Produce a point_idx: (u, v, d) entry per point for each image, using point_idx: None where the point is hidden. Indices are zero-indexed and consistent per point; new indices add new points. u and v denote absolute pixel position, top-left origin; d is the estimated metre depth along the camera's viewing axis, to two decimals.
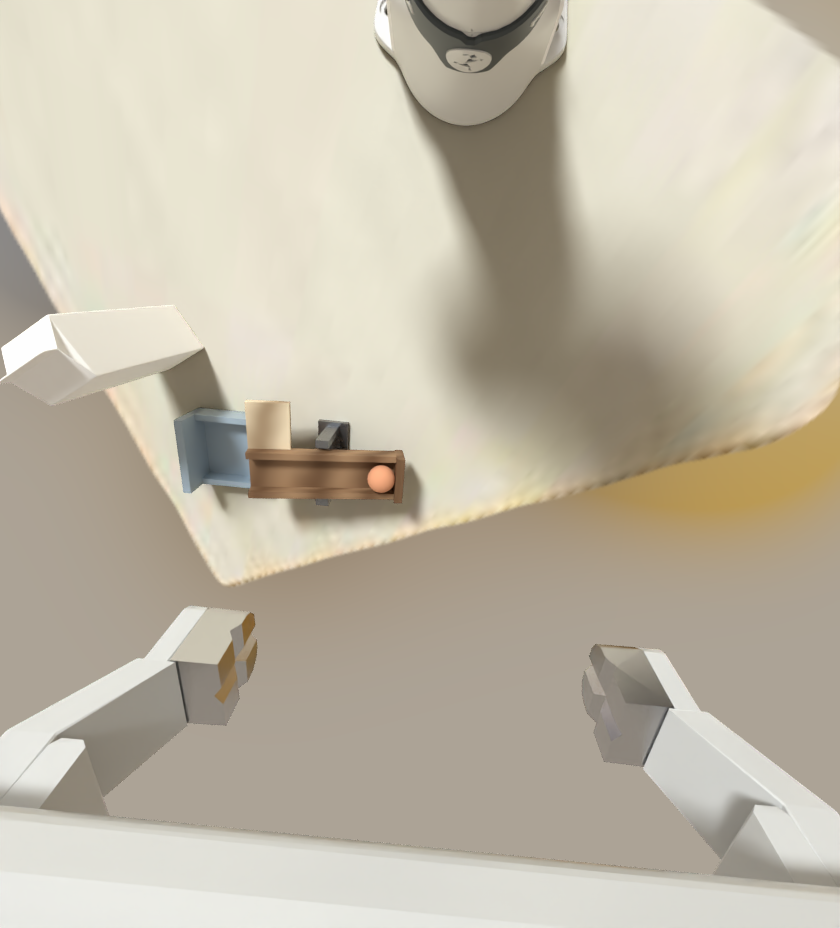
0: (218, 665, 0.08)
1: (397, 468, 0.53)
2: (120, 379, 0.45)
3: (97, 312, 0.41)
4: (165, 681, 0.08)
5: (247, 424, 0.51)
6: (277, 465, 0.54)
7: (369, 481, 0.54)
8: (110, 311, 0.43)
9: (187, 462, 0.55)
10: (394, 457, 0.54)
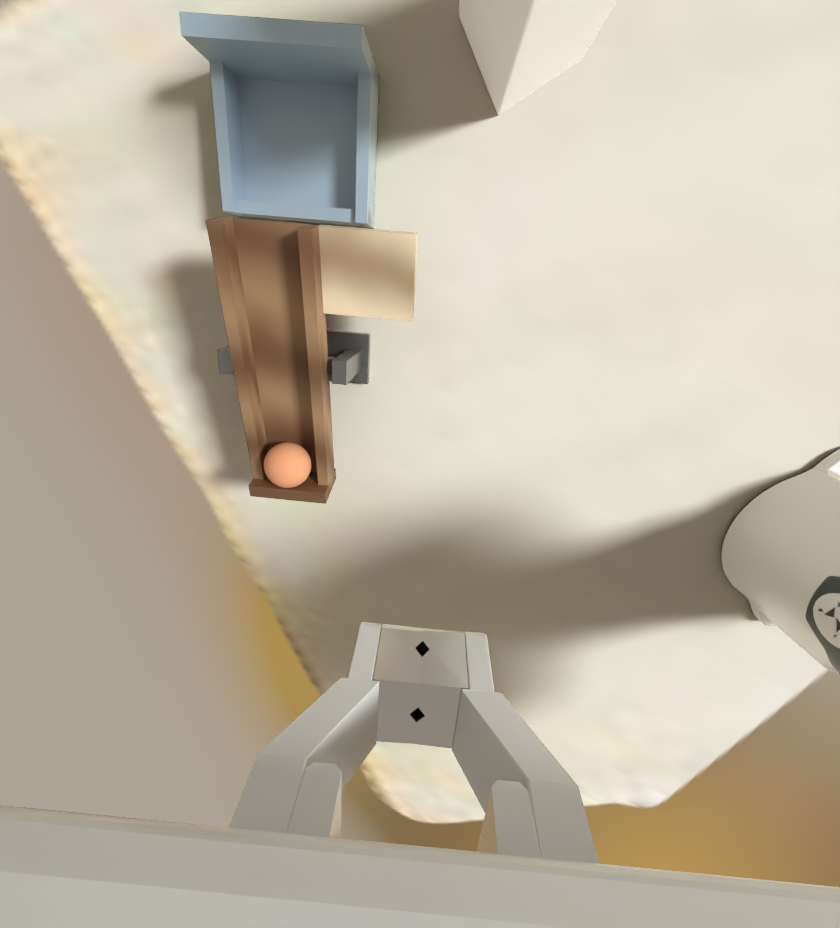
0: (420, 684, 0.08)
1: (310, 492, 0.33)
2: None
3: None
4: (371, 700, 0.08)
5: (370, 233, 0.25)
6: (287, 283, 0.27)
7: (282, 453, 0.32)
8: None
9: (261, 42, 0.24)
10: (327, 482, 0.34)
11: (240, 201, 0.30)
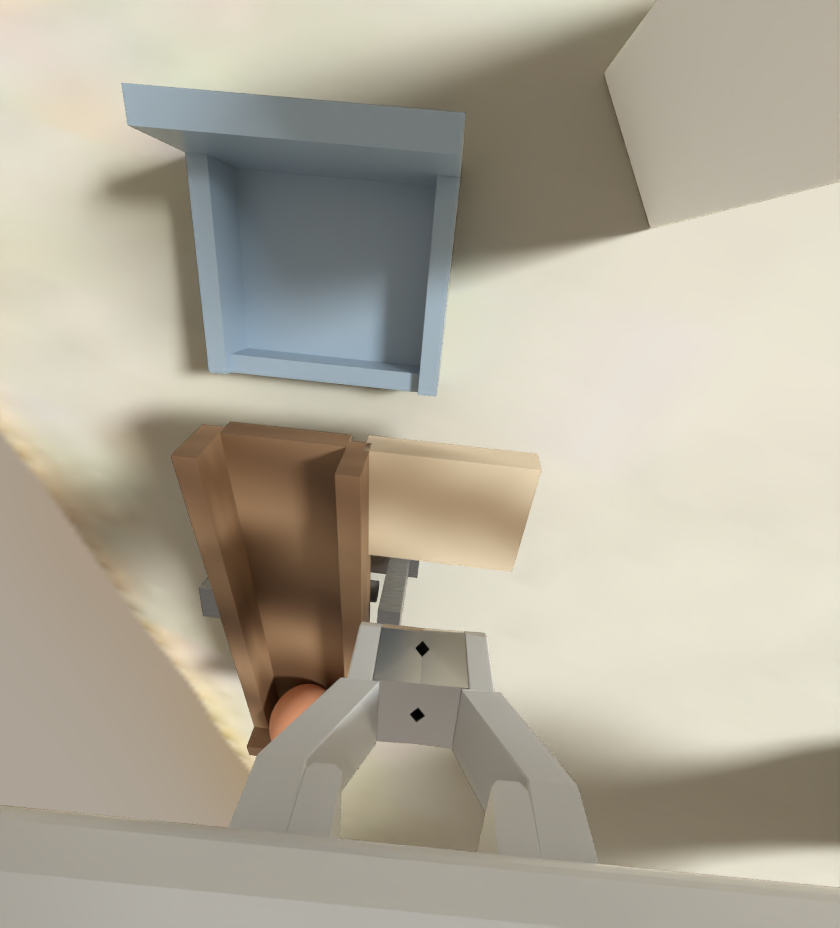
0: (420, 684, 0.08)
1: None
2: None
3: None
4: (371, 700, 0.08)
5: (459, 464, 0.14)
6: (312, 516, 0.17)
7: None
8: None
9: (273, 138, 0.13)
10: None
11: (237, 357, 0.19)
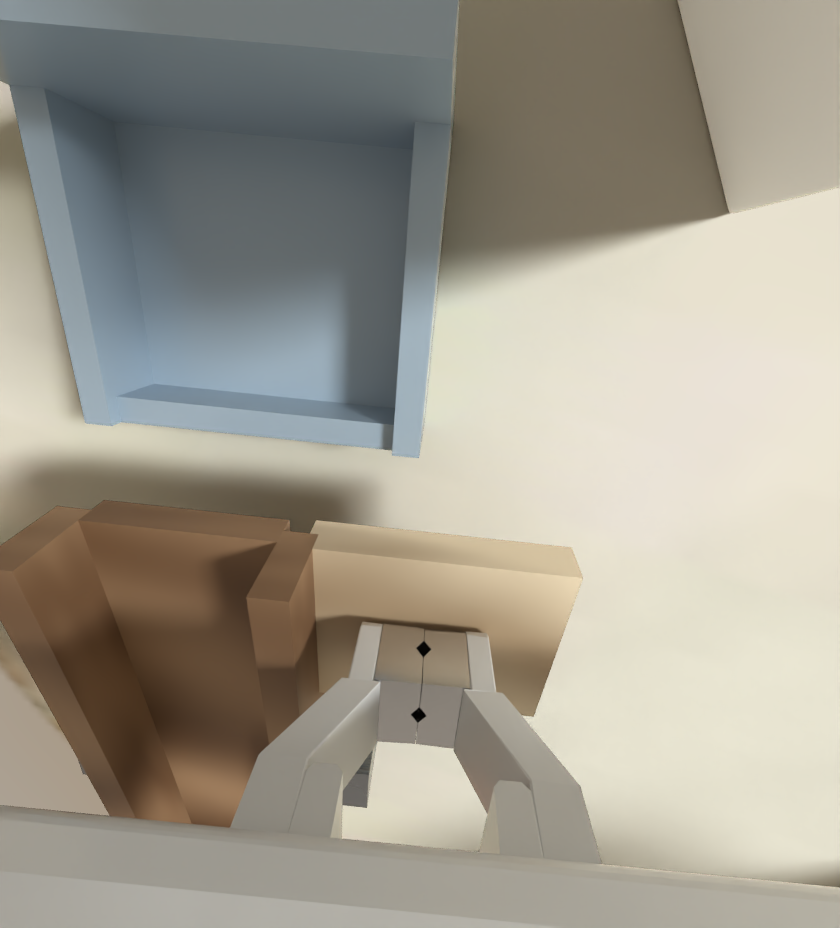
0: (421, 684, 0.08)
1: None
2: None
3: None
4: (372, 701, 0.08)
5: (453, 569, 0.09)
6: (232, 639, 0.11)
7: None
8: None
9: (107, 31, 0.07)
10: None
11: (127, 400, 0.13)
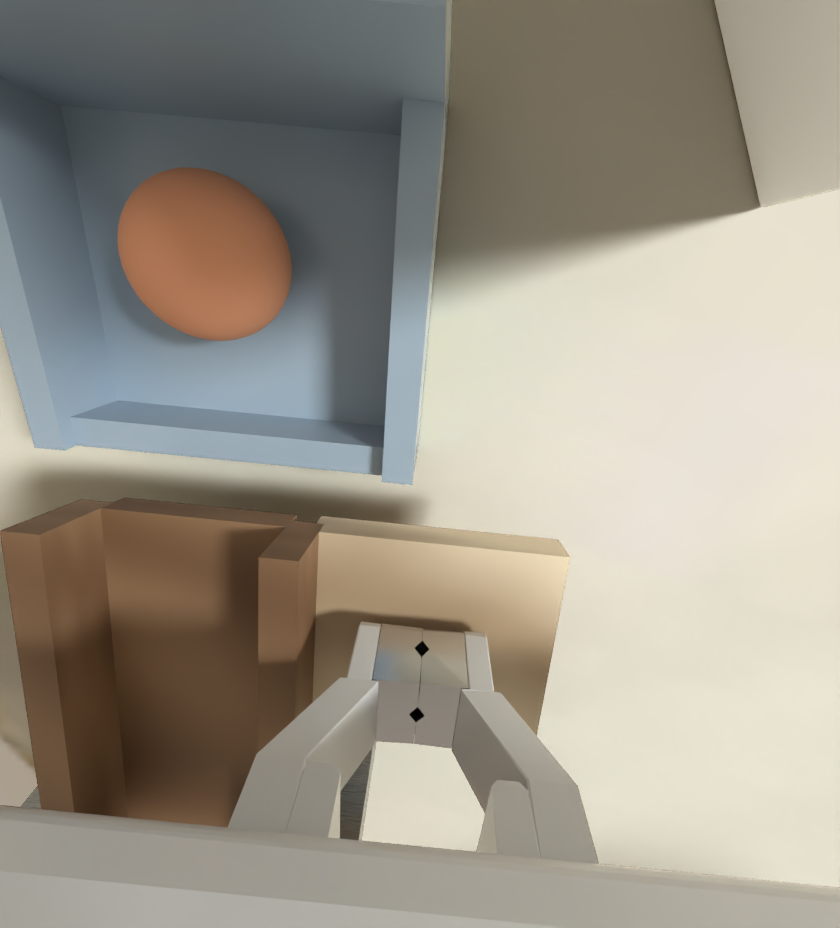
0: (419, 684, 0.08)
1: None
2: None
3: None
4: (370, 700, 0.08)
5: (450, 551, 0.10)
6: (228, 645, 0.11)
7: None
8: None
9: None
10: None
11: (83, 421, 0.11)
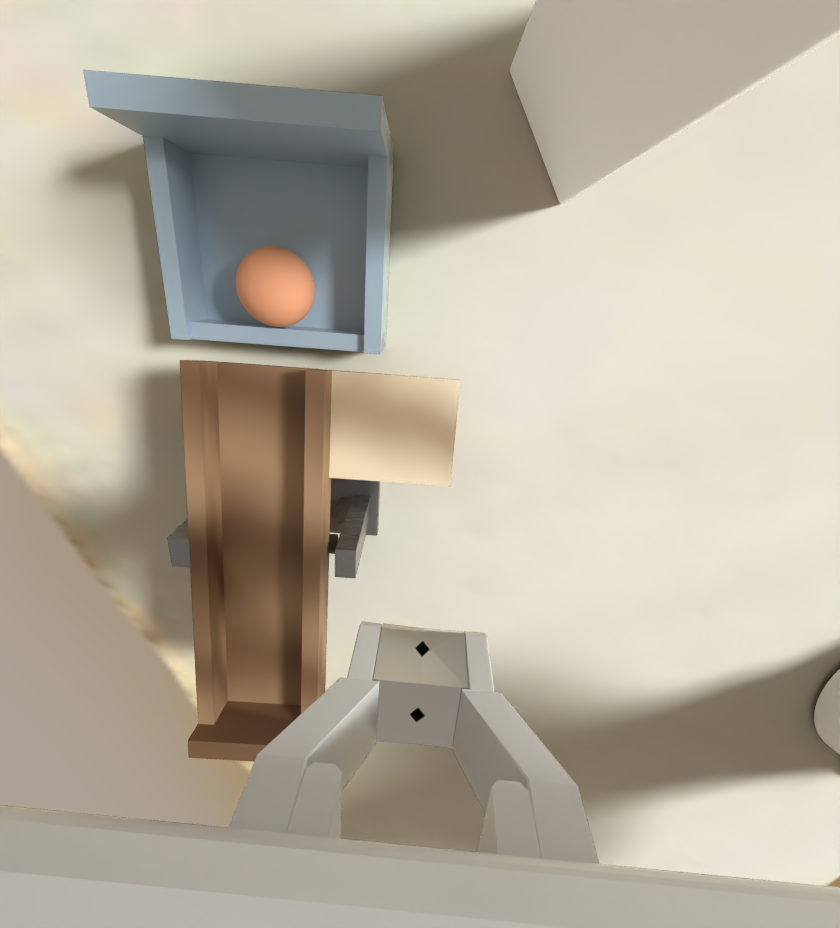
0: (420, 684, 0.08)
1: None
2: None
3: None
4: (371, 700, 0.08)
5: (399, 379, 0.19)
6: (283, 440, 0.20)
7: (265, 256, 0.18)
8: None
9: (219, 118, 0.15)
10: None
11: (197, 324, 0.21)
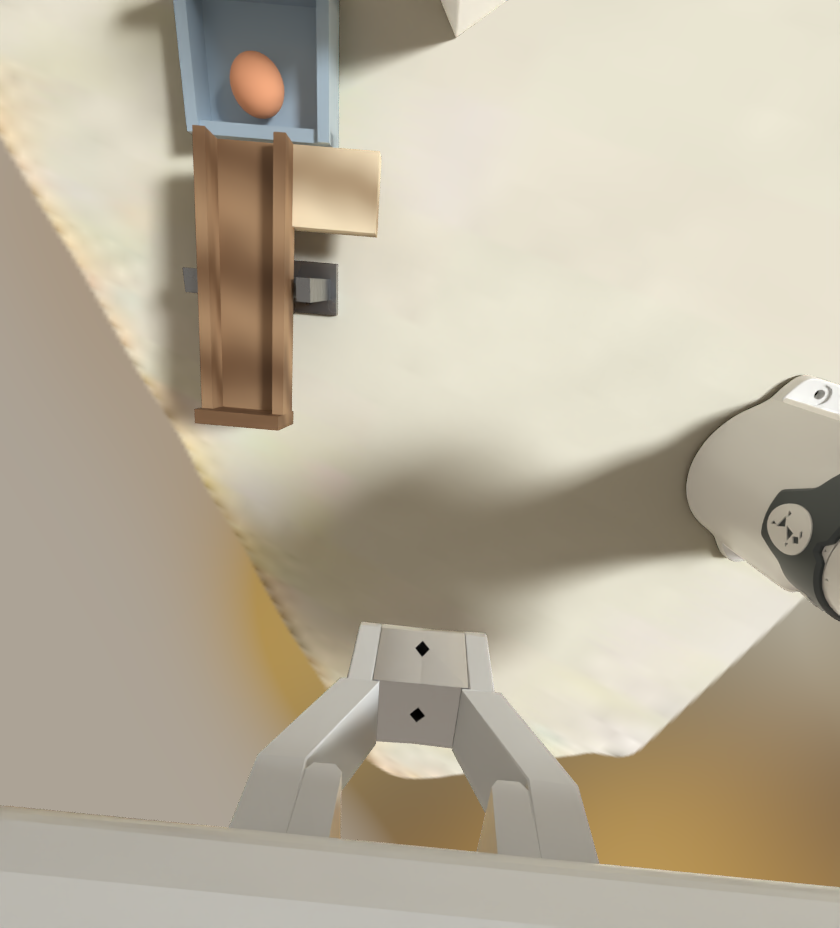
0: (420, 684, 0.08)
1: (262, 416, 0.31)
2: None
3: None
4: (371, 700, 0.08)
5: (338, 150, 0.29)
6: (261, 197, 0.30)
7: (250, 51, 0.28)
8: None
9: None
10: (282, 411, 0.31)
11: (204, 122, 0.30)
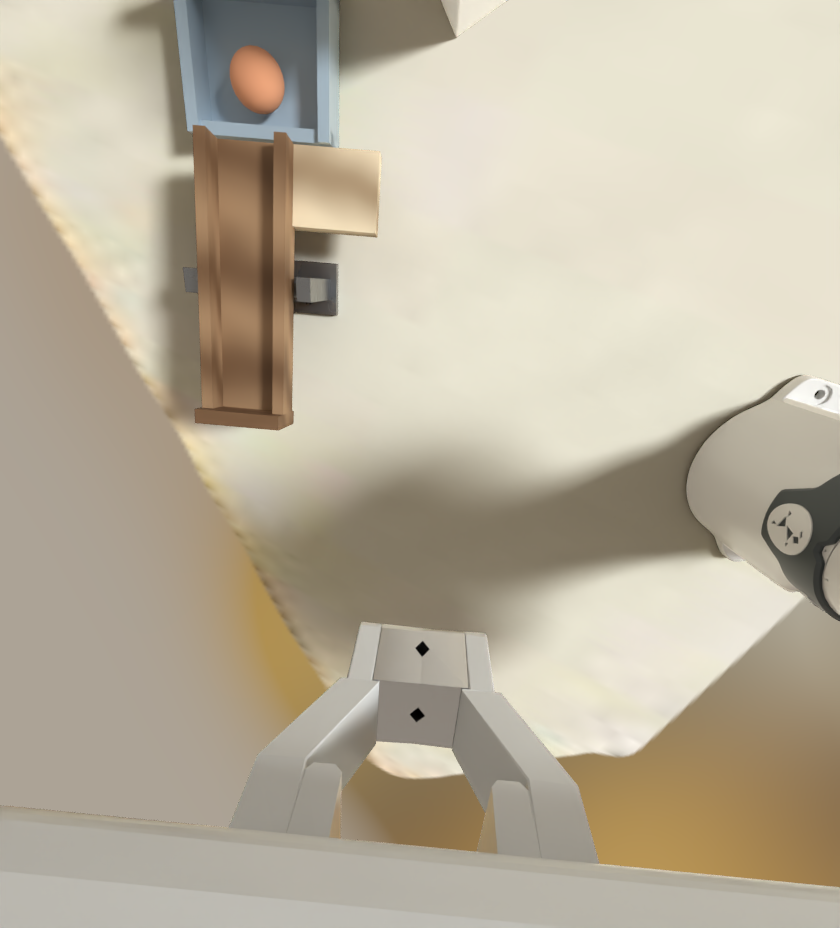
0: (420, 684, 0.08)
1: (262, 416, 0.31)
2: None
3: None
4: (371, 700, 0.08)
5: (339, 150, 0.29)
6: (261, 197, 0.30)
7: (251, 45, 0.28)
8: None
9: None
10: (282, 411, 0.31)
11: (205, 122, 0.30)
